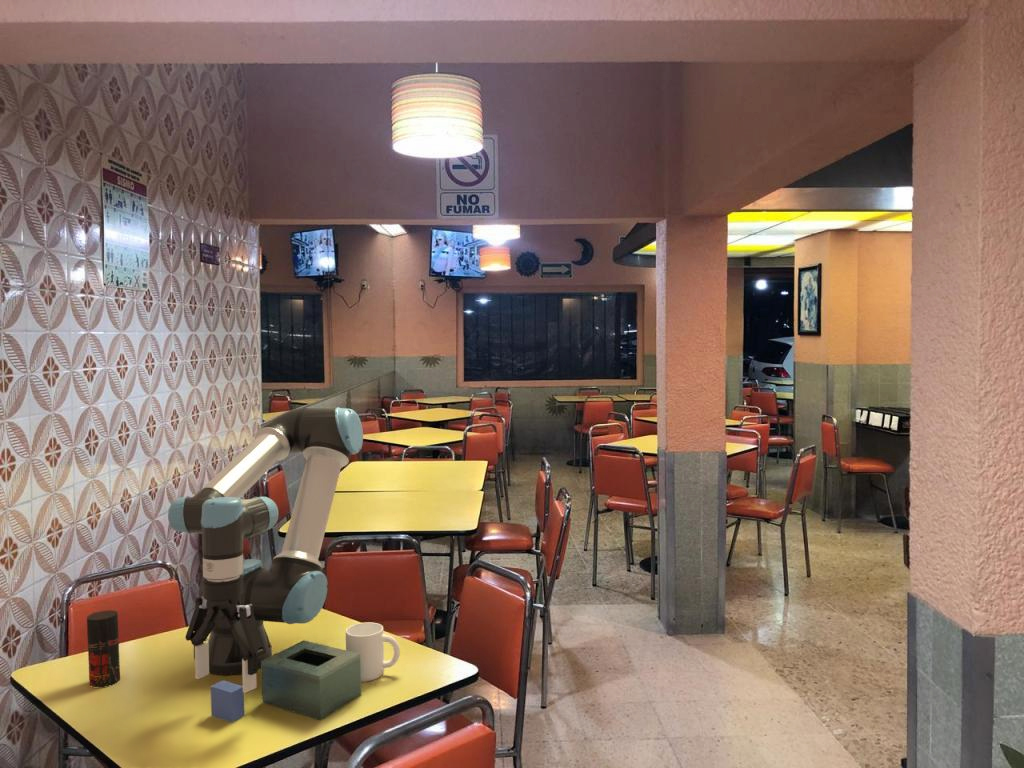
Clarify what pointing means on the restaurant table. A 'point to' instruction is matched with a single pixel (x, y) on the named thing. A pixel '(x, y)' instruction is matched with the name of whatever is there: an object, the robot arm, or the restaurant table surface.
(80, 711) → the restaurant table surface
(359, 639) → the mug
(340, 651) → the coin box
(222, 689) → the blue block
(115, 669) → the deodorant
